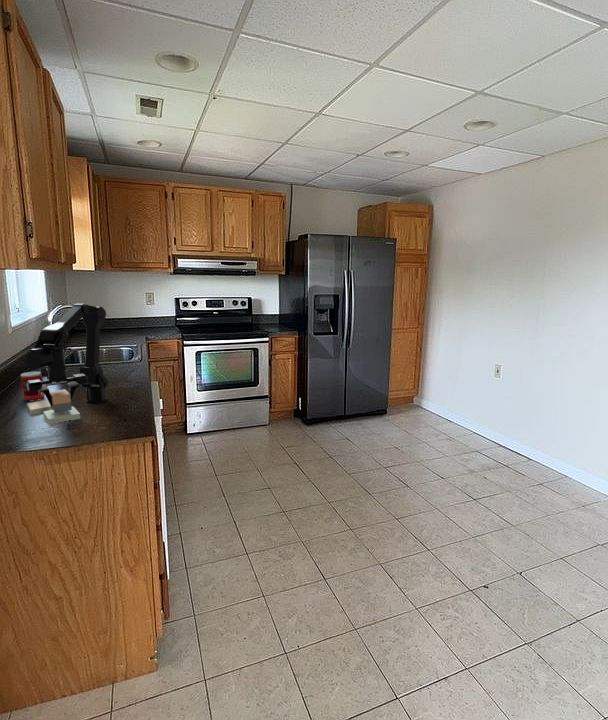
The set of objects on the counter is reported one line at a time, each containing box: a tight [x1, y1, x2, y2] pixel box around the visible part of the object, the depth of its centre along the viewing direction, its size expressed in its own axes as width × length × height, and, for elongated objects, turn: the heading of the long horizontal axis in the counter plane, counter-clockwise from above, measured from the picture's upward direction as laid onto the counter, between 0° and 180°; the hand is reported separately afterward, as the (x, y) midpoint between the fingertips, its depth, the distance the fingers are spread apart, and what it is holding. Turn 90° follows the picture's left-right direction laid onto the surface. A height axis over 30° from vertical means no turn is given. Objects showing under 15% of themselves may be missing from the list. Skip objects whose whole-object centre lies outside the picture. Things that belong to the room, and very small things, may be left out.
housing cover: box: [50, 388, 72, 405], centre depth 153 cm, size 8×6×3 cm
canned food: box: [20, 371, 45, 401], centre depth 176 cm, size 8×8×11 cm
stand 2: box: [42, 405, 81, 425], centre depth 155 cm, size 11×10×2 cm
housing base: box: [50, 401, 73, 413], centre depth 154 cm, size 8×6×3 cm
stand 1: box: [26, 399, 52, 415], centre depth 164 cm, size 11×10×2 cm
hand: (60, 404), depth 154 cm, fingers closed on housing base, housing cover, 5 cm apart
